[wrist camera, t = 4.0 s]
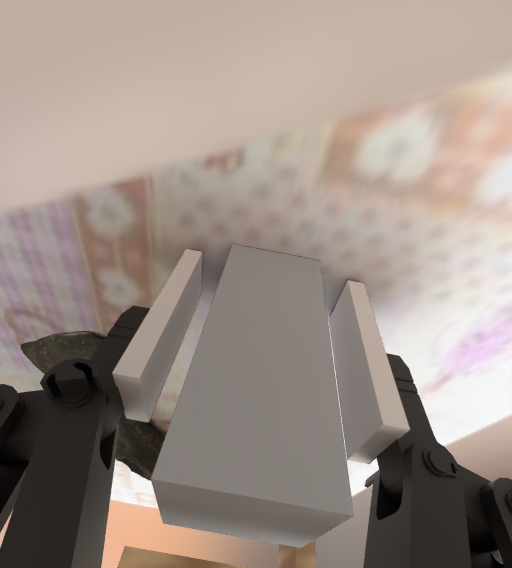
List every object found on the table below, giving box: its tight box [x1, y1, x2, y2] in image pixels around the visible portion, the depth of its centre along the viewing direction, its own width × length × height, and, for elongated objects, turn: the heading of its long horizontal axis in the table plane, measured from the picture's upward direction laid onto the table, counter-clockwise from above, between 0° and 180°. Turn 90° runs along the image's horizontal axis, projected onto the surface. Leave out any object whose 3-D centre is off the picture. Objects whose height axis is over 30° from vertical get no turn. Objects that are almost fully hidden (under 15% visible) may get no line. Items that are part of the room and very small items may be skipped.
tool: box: [20, 332, 163, 480], centre depth 23 cm, size 21×8×3 cm, turn 14°
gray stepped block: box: [151, 244, 354, 548], centre depth 14 cm, size 4×17×9 cm, turn 171°
